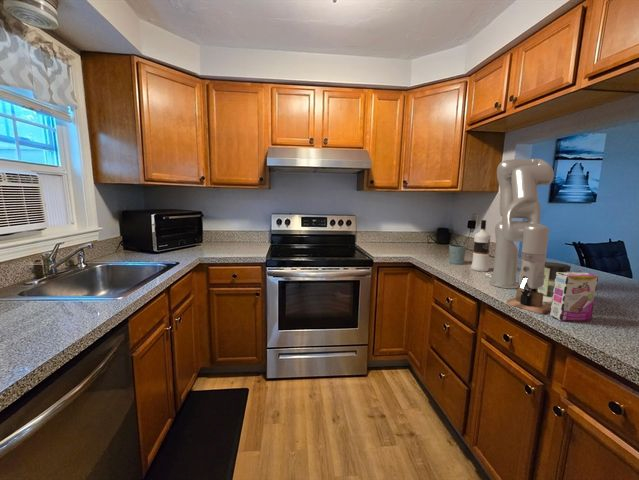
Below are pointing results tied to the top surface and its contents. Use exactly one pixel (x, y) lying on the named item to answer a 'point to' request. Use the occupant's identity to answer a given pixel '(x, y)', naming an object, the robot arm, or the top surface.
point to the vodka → (481, 249)
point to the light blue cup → (457, 254)
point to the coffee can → (551, 277)
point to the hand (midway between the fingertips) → (528, 303)
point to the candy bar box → (573, 296)
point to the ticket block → (547, 301)
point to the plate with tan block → (535, 302)
